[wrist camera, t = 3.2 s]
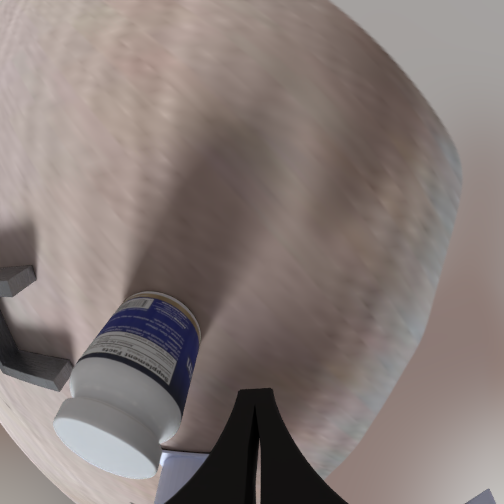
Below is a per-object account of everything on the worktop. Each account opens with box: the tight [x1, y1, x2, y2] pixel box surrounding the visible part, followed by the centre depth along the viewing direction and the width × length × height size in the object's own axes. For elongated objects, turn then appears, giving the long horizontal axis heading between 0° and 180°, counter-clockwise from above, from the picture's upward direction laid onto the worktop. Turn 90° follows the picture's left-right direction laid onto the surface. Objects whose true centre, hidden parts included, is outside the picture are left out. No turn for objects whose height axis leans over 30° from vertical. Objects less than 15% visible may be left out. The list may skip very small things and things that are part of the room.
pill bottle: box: [53, 291, 201, 479], centre depth 12 cm, size 6×6×10 cm
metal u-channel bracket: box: [0, 265, 73, 392], centre depth 16 cm, size 10×9×3 cm
